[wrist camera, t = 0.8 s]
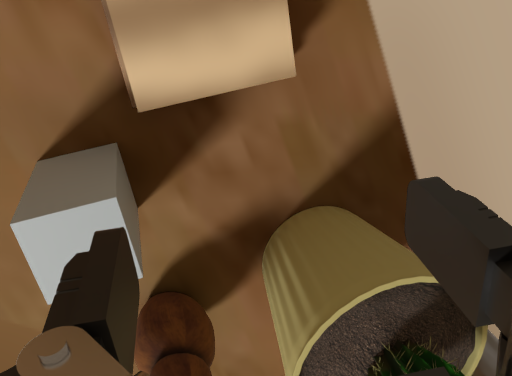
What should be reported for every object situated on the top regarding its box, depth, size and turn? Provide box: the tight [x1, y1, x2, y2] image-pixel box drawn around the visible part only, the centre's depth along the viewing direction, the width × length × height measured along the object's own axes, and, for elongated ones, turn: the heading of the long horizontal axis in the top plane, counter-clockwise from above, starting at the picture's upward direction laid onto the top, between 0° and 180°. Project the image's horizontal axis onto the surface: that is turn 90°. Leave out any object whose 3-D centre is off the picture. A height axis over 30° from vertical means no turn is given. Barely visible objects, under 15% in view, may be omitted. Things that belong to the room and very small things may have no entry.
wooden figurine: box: [134, 292, 215, 376], centre depth 37 cm, size 7×6×15 cm
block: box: [10, 143, 143, 305], centre depth 32 cm, size 6×6×10 cm
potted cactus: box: [262, 206, 488, 376], centre depth 32 cm, size 15×15×30 cm
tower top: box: [106, 0, 296, 113], centre depth 30 cm, size 11×11×3 cm
